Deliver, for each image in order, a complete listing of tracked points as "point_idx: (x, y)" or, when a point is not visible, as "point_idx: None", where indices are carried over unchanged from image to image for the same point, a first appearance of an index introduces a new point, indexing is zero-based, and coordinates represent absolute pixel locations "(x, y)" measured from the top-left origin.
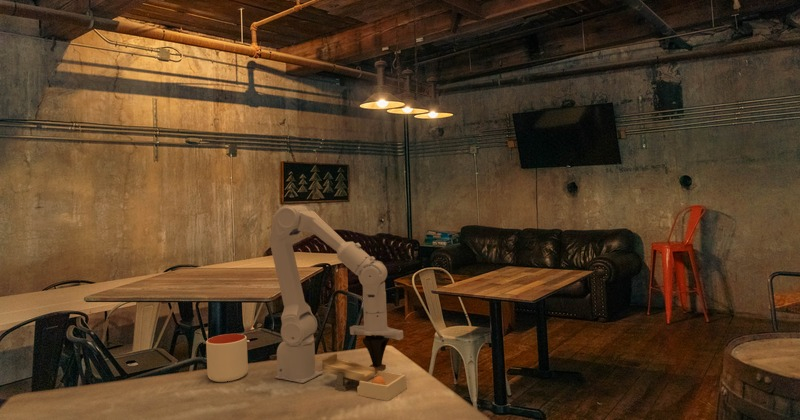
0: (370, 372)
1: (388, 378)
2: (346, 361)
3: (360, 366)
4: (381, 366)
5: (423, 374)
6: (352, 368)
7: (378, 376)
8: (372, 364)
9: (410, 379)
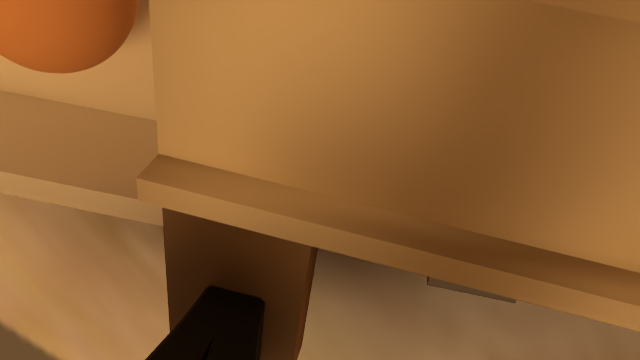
0: (177, 118)
1: (58, 144)
2: (634, 312)
3: (362, 221)
4: (180, 304)
5: (39, 340)
6: (478, 175)
7: (2, 18)
8: (292, 332)
9: (52, 262)
